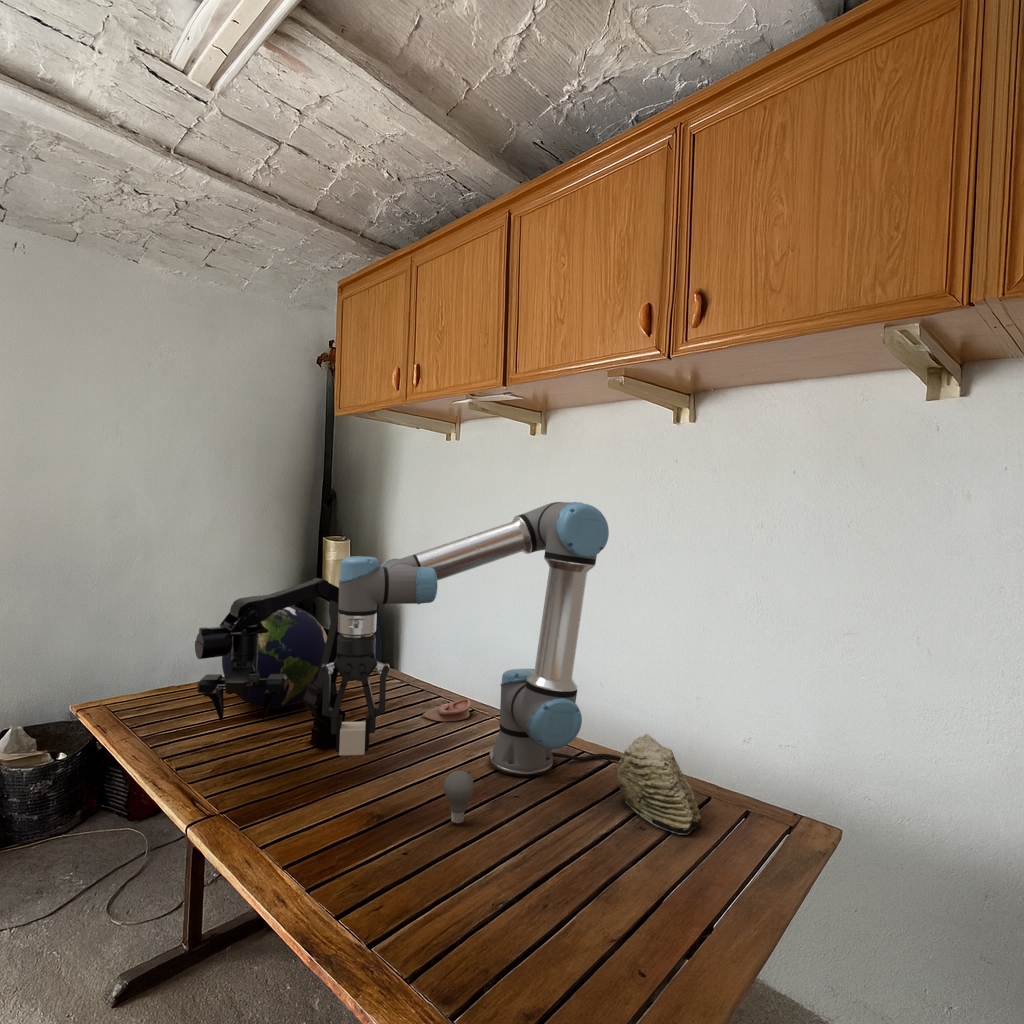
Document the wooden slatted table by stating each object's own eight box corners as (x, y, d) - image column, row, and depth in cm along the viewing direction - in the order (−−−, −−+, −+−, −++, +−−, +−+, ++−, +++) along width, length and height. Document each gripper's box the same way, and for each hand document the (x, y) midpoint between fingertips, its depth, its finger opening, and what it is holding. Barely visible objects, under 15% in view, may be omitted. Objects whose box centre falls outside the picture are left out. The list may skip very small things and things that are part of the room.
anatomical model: (419, 705, 182) (432, 693, 194) (418, 719, 182) (431, 706, 194) (463, 710, 180) (474, 698, 191) (463, 724, 180) (473, 711, 191)
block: (339, 755, 125) (340, 730, 124) (341, 745, 129) (342, 721, 129) (364, 754, 125) (365, 730, 125) (365, 745, 130) (366, 721, 130)
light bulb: (442, 814, 128) (444, 765, 128) (472, 814, 129) (474, 765, 129) (441, 829, 122) (444, 778, 122) (472, 829, 123) (475, 778, 123)
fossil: (629, 792, 142) (632, 725, 142) (706, 824, 129) (710, 751, 129) (606, 804, 135) (609, 735, 135) (684, 839, 122) (687, 763, 122)
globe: (289, 685, 209) (292, 594, 208) (348, 705, 191) (352, 606, 191) (199, 706, 185) (203, 604, 184) (258, 732, 167) (262, 619, 167)
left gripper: (191, 662, 138) (188, 733, 138) (281, 661, 141) (278, 731, 141) (205, 650, 149) (203, 716, 149) (289, 649, 152) (286, 714, 152)
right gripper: (307, 638, 122) (303, 758, 122) (402, 638, 125) (397, 755, 125) (312, 629, 129) (309, 743, 129) (401, 630, 132) (397, 740, 133)
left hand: (242, 719), depth 148 cm, fingers open, 9 cm apart
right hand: (352, 748), depth 127 cm, fingers closed on block, 5 cm apart
